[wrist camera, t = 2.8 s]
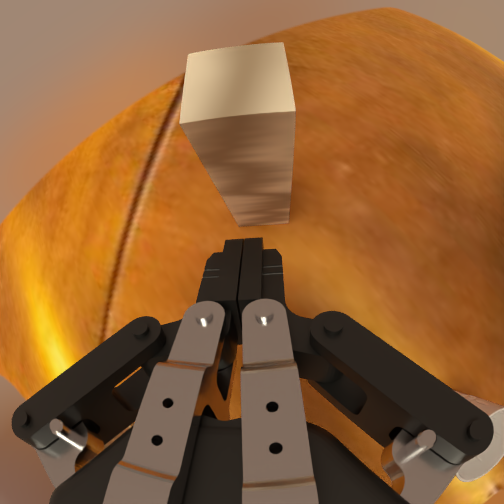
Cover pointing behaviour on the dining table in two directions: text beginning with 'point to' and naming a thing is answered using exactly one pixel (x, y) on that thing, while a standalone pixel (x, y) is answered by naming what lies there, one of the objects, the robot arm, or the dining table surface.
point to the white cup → (497, 449)
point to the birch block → (243, 127)
